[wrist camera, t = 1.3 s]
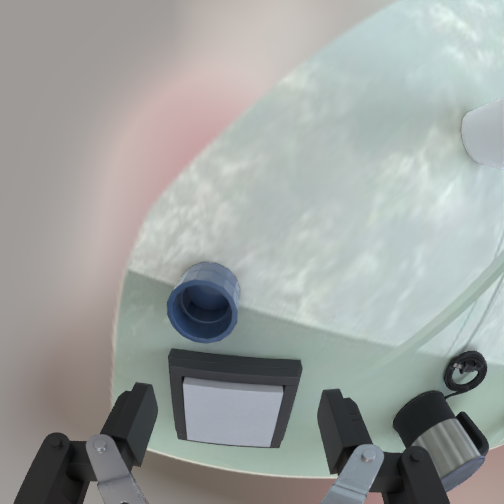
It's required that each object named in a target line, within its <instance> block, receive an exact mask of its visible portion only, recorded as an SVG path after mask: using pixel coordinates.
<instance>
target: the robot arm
mask: <svg viewBox="0 0 504 504" xmlns="http://www.w3.org/2000/svg"><path fill="white" fill-rule="evenodd" d="M157 414H158V406H157V402H156V398H155V394H154V390H153V386H152V385H151V384H145V383H138V382H136V383H135V385H134V387H133V389H132V391H125V392H124V393H122V394H121V395H120V396H119V397H118V399H117V401H116V403H115V406H114V407H113V409H112V412H111V413H110V414H109V416H108V419H107V420H106V423H105V425H104V427H103V429H102V430H101V433H100V434H98V435H94V436H92V437H91V438H89V439H88V441H70V440H69V439H68V437H67V436H66V435H64V434H62V433H51V434H49V435H48V436H47V437H46V438H45V440H44V441H43V443H42V445H41V447H40V449H39V451H38V453H37V455H36V457H35V459H34V461H33V463H32V465H31V467H30V469H29V471H28V473H27V475H26V477H25V479H24V481H23V484H22V486H21V488H20V490H19V492H18V495H17V497H16V499H15V501H14V504H83V501H84V498H85V495H86V492H87V489H88V486H89V483H90V481H98V484H97V486H98V490H99V492H100V494H101V496H102V499H103V501H104V504H149V503H148V501H147V500H146V498H145V497H144V495H143V493H142V491H141V489H140V488H139V486H138V484H137V482H136V480H135V479H134V477H133V475H132V473H131V470H132V467H133V466H138V467H141V464H142V461H143V458H144V455H145V451H146V449H147V446H148V442H149V439H150V436H151V433H152V430H153V427H154V424H155V421H156V418H157ZM317 419H318V425H319V429H320V433H321V437H322V441H323V445H324V449H325V454H326V458H327V462H328V466H329V470H330V474H337V473H338V476H339V477H338V478H337V480H336V481H335V483H334V484H333V485H332V486H331V488H330V489H329V491H328V493H327V494H326V495H325V497H324V498H323V500H322V501H321V502H320V504H363V503H364V501H365V500H366V497H367V493H368V492H381V493H382V497H383V501H384V504H450V502H449V499H448V497H447V495H446V492H445V489H444V487H443V484H442V482H441V479H440V477H439V475H438V472H437V470H436V468H435V465H434V463H433V461H432V459H431V456H430V454H429V452H428V451H427V450H426V449H425V448H423V447H421V446H411V447H408V448H407V449H405V450H404V452H403V453H389V452H383V451H382V450H381V449H380V448H379V447H378V446H376V445H373V443H372V441H371V438H370V436H369V433H368V431H367V428H366V426H365V423H364V421H363V420H362V419H363V418H362V416H361V414H360V411H359V409H358V406H357V404H356V403H355V402H354V401H353V400H352V399H351V398H343V396H342V394H341V391H340V389H329V390H323V392H322V396H321V400H320V404H319V408H318V414H317Z"/></svg>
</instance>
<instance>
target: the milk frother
mask: <svg viewBox="0 0 504 504" xmlns="http://www.w3.org/2000/svg"><path fill="white" fill-rule="evenodd" d="M475 361H476V362H475ZM455 368H459V370H460V374H463V373H464V372H471V371H472V372H473V371H474V370H476V371H478V374H477V376H476V377H475V378H474V379H473V380H471V381H470V382H468V383H466V384H456V383H455V382H454V381H453V380H452V374H453V372H454V370H455ZM486 373H487V364H486V361H485V359H484V357H483V356H482V354H480V353H479V352H477V351H467V352H464V353H462V354H460V355H458V356H457V357H456V358H455V359H454V360H453V361H452V362H451V363H450V365H449V366H448V368H447V370H446V373H445V377H444V379H445V383H446V386H447V387H448V388H449V389H450V390H453V391H457V392H455V393H452V394H450V395H447V396H445V397H444V395H443V393H441V392H439V391H432V392H428V393H425V394H423V395H421V396H419V397H417V398H415V399H414V400H412V401H411V402H410V403H408V404H407V405H406V406H405V407H404V408H403V409H402V410H401V411H400V412H399V413H398V415H397V416H396V418H395V420H394V429H395V430H396V431H397V432H398V434H399V436H400V437H401V439H402V441H403V443H404V445H405V447H406V449H407V448H408V447H411V446H421V447H423V448H425V449H426V450H427V451H428V452H429V454H430V456H431V459H432V461H433V463H434V465H435V468H436V470H437V472H438V475H439V477H440V479H441V482H442V484H443V487H444V489H445V492H448V491H450V490H452V489H453V488H455V487H457V486H458V485H460V484H461V483H463V482H464V481H465V480H467V479H468V478H469V477H471V476H472V474H474V473H475V472H476V471H477V470H478V469H479V468H480V466H481V465H482V464H483V463H484V461H485V456H486V454H487V453H488V450H489V444H488V441H487V439H486V438H485V436H484V435H483V434H482V432H481V431H480V430H479V429H478V427H477V426H476V425H475V424H474V422H473V421H472V420H471V419H470V417H469V416H468V415H467V414H466V413H465V412H460V413H459V414H458V415H457V416H456V417H455V415H454V413H453V412H452V410H451V409H450V407H449V405H448V403H447V402H446V399H447V398H449V397H451V396H454V395H458V394H462V393H464V392H467V391H469V390H471V389H473V388H475V387H477V386H478V385H479V384H480V383H481V382H482V381H483V379H484V378H485V376H486Z"/></svg>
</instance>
